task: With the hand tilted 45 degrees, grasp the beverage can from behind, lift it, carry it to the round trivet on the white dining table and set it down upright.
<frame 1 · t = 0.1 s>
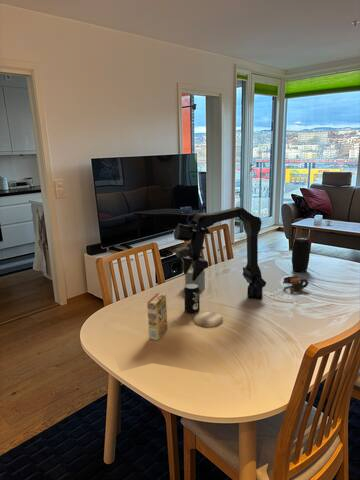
hand: (189, 277, 156), 15 cm above the table, tool pointing down, fingers open, 9 cm apart
candy box: (158, 334, 140), on the table
portable speaker: (299, 270, 205), on the table
trivet: (208, 320, 150), on the table
pottery mug: (295, 290, 179), on the table
beverage can: (192, 311, 159), on the table
coffee mug: (197, 287, 185), on the table
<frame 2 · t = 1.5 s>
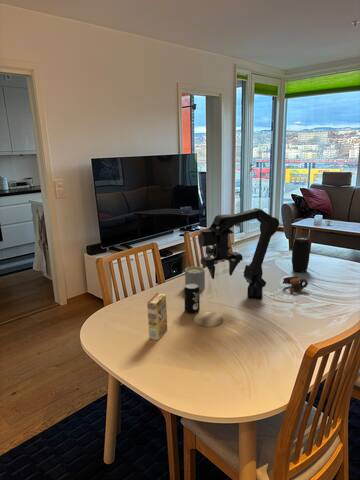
hand: (221, 277, 162), 13 cm above the table, tool pointing down, fingers open, 9 cm apart
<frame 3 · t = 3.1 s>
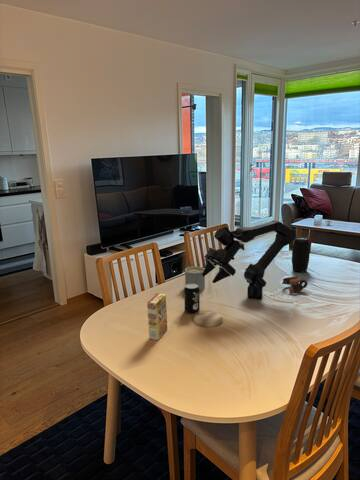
hand: (207, 279, 158), 13 cm above the table, tool tilted 45°, fingers open, 9 cm apart
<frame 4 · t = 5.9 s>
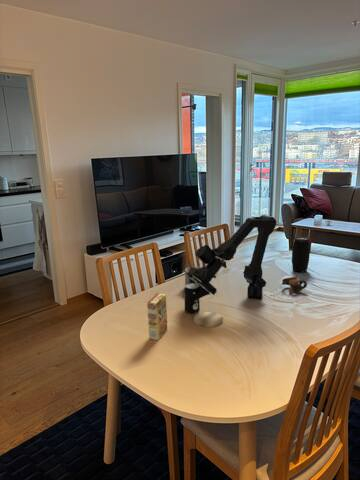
hand: (189, 297, 156), 7 cm above the table, tool tilted 45°, fingers closed on beverage can, 6 cm apart
beverage can: (192, 311, 159), on the table, touching gripper
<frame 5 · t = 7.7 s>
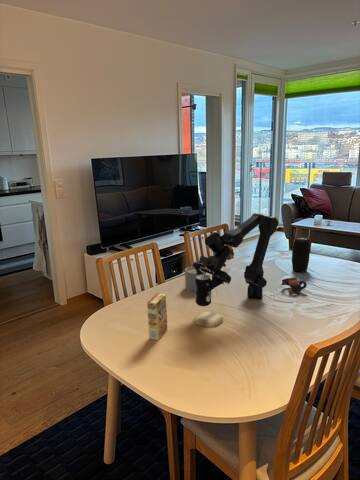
hand: (200, 289, 148), 13 cm above the table, tool tilted 45°, fingers closed on beverage can, 6 cm apart
beverage can: (203, 303, 151), point 6 cm above the table, touching gripper
when the fingers open (8 cm above the table, at t = 9.7 s): beverage can stays where it is, resting on trivet.
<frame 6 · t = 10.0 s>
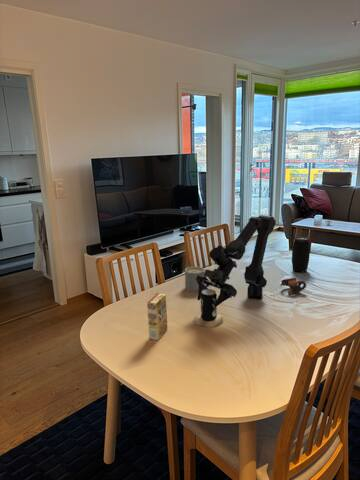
hand: (206, 303, 147), 8 cm above the table, tool tilted 45°, fingers open, 9 cm apart
beverage can: (208, 318, 150), point 1 cm above the table, touching trivet
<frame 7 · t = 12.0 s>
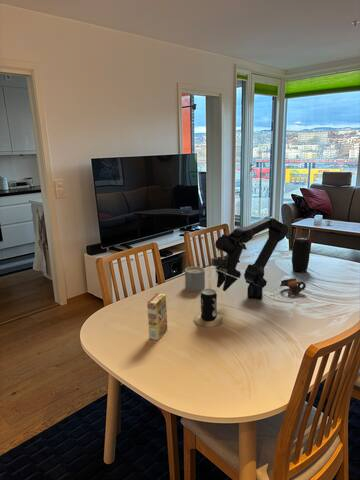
hand: (220, 289, 157), 10 cm above the table, tool tilted 30°, fingers open, 9 cm apart
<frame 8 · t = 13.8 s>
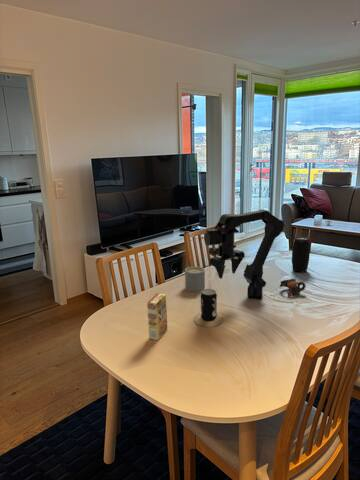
hand: (227, 275, 163), 13 cm above the table, tool pointing down, fingers open, 9 cm apart
at the end: beverage can 0.1 cm from the trivet (horizontally); beverage can tilted 0°; the gripper is holding nothing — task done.
